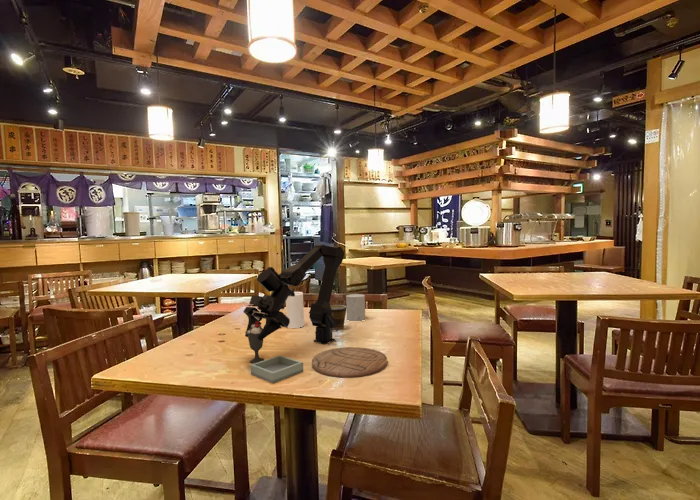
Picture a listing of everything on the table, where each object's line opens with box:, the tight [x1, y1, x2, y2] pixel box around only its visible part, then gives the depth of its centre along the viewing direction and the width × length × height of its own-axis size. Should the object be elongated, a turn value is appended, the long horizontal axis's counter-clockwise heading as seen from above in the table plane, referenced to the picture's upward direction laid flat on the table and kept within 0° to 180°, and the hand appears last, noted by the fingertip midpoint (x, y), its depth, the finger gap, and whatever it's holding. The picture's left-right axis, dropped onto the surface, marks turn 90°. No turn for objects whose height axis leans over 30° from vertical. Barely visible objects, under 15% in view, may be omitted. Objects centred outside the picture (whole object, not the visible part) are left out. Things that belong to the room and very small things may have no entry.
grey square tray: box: [250, 354, 304, 384], centre depth 114 cm, size 12×12×3 cm
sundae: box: [244, 318, 265, 364], centre depth 121 cm, size 7×7×15 cm
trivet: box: [311, 346, 388, 379], centre depth 121 cm, size 25×25×2 cm
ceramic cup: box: [330, 304, 347, 331], centre depth 165 cm, size 13×10×10 cm
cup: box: [285, 291, 305, 329], centre depth 172 cm, size 8×8×16 cm
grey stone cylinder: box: [345, 293, 366, 322], centre depth 182 cm, size 10×10×12 cm
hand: (252, 338), depth 120 cm, fingers closed on sundae, 7 cm apart
